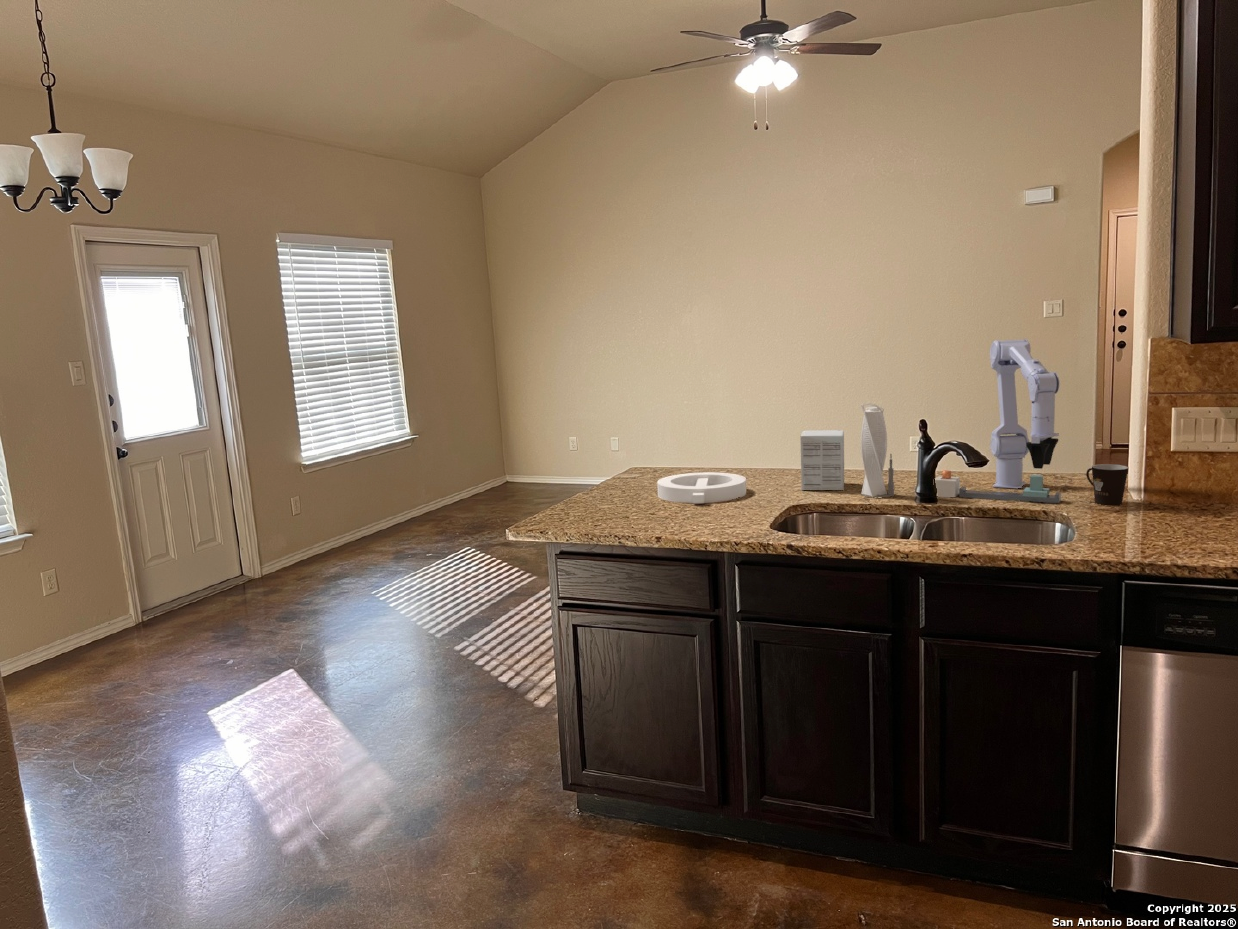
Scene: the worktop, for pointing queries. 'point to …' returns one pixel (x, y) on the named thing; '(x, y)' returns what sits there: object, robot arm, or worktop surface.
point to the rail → (1007, 496)
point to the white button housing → (947, 486)
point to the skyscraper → (875, 453)
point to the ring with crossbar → (701, 487)
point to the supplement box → (822, 460)
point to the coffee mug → (1108, 483)
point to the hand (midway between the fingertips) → (1041, 466)
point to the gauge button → (946, 474)
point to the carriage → (1036, 487)
